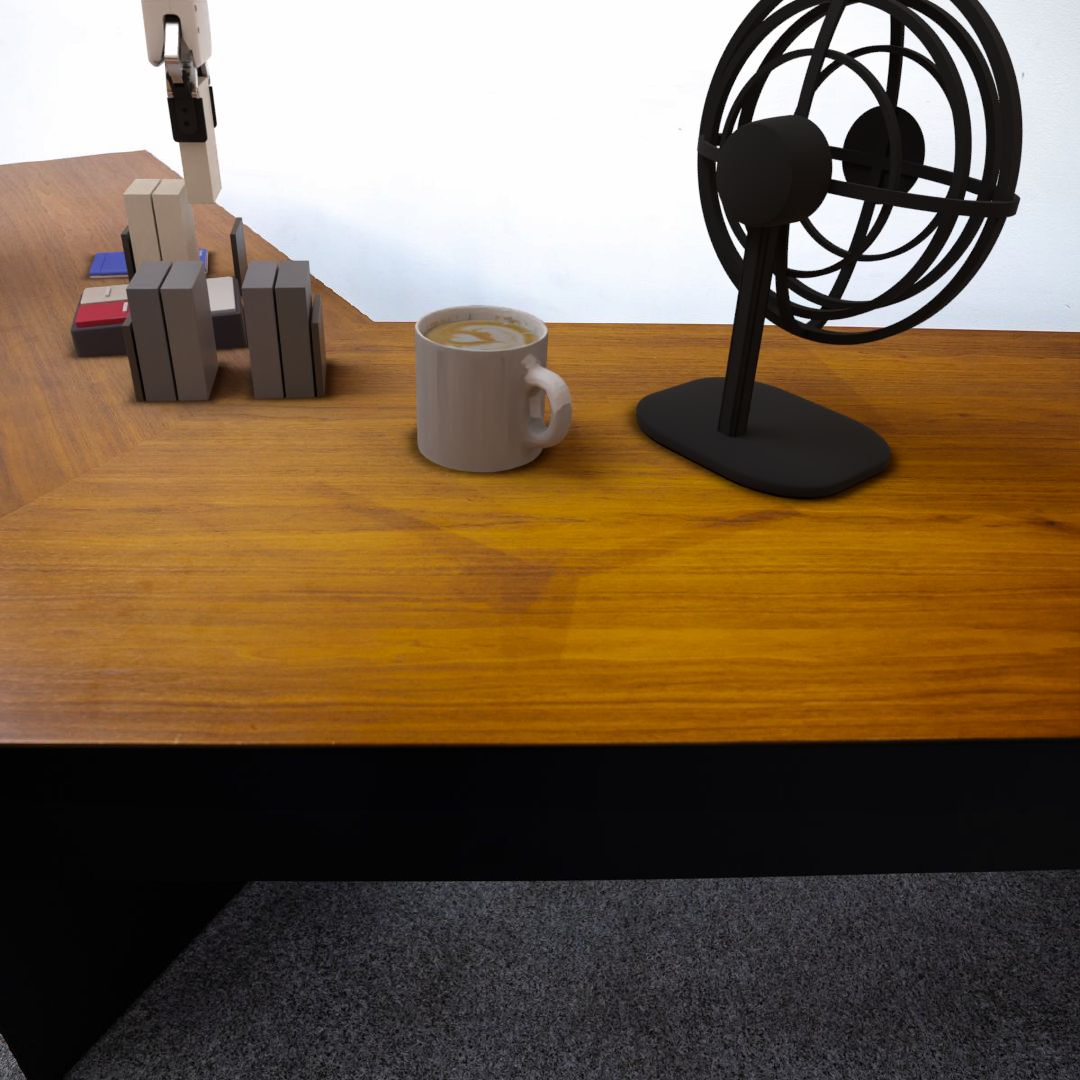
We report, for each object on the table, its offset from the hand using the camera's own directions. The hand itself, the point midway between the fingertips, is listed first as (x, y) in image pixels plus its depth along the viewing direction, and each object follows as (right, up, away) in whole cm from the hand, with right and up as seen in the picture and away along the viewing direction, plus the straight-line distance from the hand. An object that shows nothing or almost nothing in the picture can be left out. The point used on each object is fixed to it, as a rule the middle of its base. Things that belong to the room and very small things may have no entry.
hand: (196, 133), depth 100 cm
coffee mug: (+31, -35, -22) cm, 52 cm away
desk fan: (+54, -33, -18) cm, 66 cm away
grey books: (+8, -28, -13) cm, 32 cm away
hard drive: (-10, -11, +14) cm, 20 cm away
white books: (-4, -14, +8) cm, 17 cm away
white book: (0, -5, +3) cm, 6 cm away
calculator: (-2, -22, -4) cm, 22 cm away
